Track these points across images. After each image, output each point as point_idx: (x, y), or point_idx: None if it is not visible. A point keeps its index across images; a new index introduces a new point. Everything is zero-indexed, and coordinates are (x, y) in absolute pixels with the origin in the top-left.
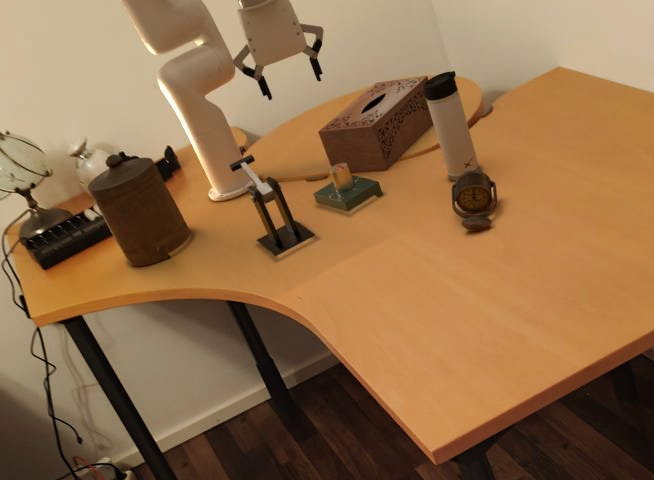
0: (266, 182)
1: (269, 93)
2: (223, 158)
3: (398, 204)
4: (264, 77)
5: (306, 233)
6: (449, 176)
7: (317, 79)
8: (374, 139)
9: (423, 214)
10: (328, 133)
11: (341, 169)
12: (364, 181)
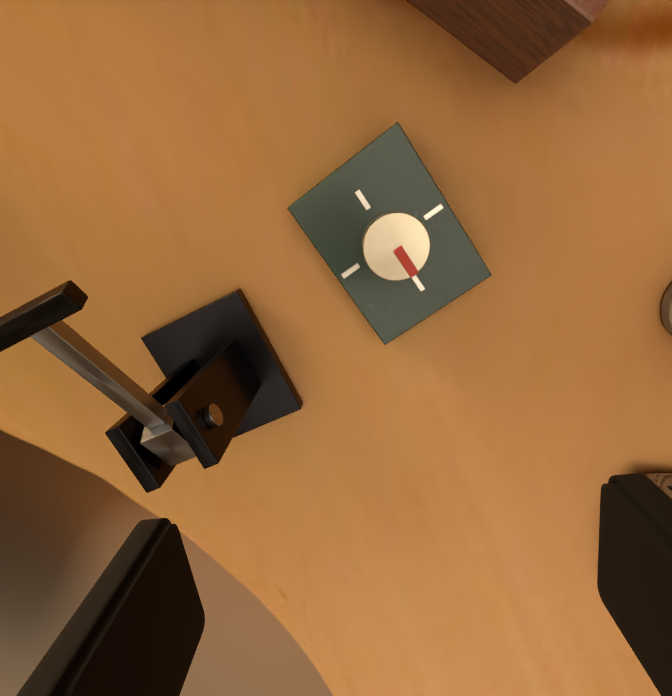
0: (174, 431)
1: (183, 667)
2: None
3: (507, 355)
4: (82, 679)
5: (278, 391)
6: (665, 313)
7: (611, 608)
8: (557, 41)
9: (550, 443)
10: None
11: (408, 277)
12: (451, 242)
